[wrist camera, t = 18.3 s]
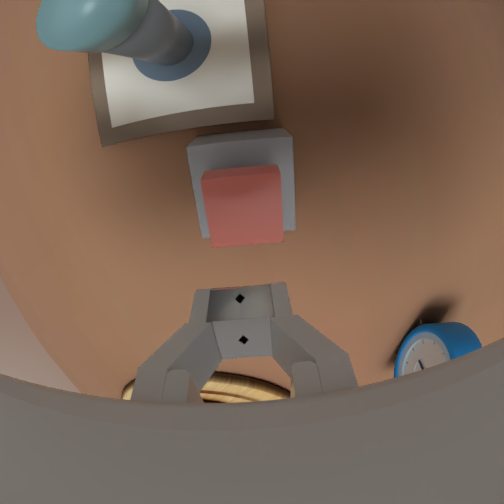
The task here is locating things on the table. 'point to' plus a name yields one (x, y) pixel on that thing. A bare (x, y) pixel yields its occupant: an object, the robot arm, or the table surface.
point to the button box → (244, 163)
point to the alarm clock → (434, 346)
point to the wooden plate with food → (231, 390)
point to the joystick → (115, 29)
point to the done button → (243, 205)
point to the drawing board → (189, 76)
